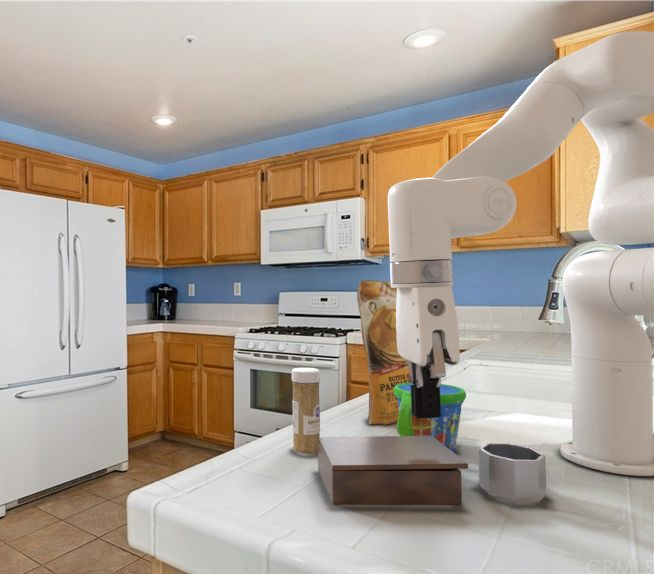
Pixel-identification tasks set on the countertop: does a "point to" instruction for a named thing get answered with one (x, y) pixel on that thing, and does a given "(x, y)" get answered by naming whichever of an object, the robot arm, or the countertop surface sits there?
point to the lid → (388, 453)
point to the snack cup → (436, 427)
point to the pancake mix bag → (381, 349)
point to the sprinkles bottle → (306, 410)
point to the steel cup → (512, 472)
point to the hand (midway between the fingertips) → (426, 416)
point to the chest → (391, 485)
